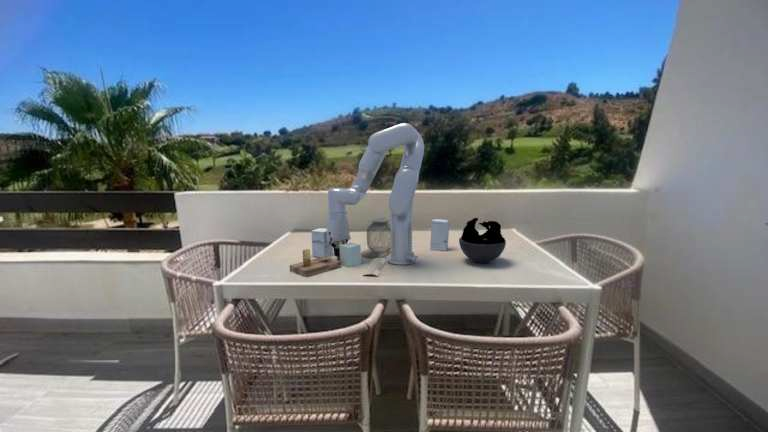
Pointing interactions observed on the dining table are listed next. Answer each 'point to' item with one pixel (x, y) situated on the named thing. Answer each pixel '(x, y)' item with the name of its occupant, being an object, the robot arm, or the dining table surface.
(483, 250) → the bowl of black rocks
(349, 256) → the pale blue block
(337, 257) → the brass pin
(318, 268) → the pegboard
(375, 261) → the newspaper
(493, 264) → the dining table surface
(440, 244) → the skincare box
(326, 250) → the supplement box
